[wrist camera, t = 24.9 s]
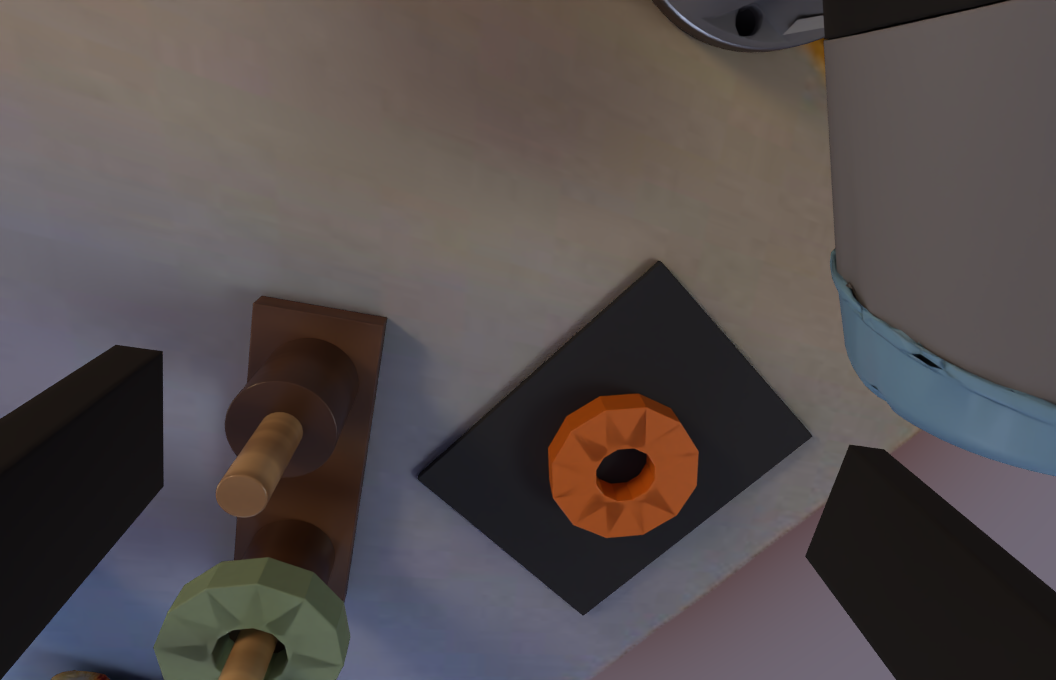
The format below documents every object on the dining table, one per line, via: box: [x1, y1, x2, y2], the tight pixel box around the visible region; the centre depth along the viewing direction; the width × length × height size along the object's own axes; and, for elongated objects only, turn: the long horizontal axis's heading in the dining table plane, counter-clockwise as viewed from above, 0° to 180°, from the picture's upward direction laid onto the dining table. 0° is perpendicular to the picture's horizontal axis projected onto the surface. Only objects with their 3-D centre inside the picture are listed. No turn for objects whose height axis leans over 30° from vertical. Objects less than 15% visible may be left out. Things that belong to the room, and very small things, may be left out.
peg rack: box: [216, 296, 387, 680], centre depth 33 cm, size 20×7×13 cm, turn 168°
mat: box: [418, 261, 812, 615], centre depth 40 cm, size 20×16×1 cm
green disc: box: [153, 557, 350, 680], centre depth 33 cm, size 9×9×2 cm
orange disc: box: [548, 393, 699, 538], centre depth 39 cm, size 9×9×2 cm
